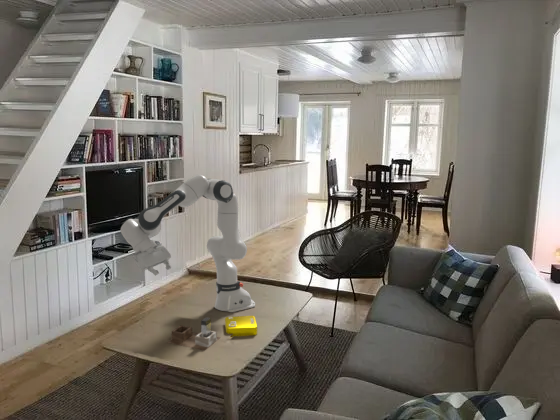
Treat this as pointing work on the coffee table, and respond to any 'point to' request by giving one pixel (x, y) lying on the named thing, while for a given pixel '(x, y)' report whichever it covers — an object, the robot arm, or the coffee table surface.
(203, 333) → the brushed metal bar
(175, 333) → the caddy
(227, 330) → the element tile
